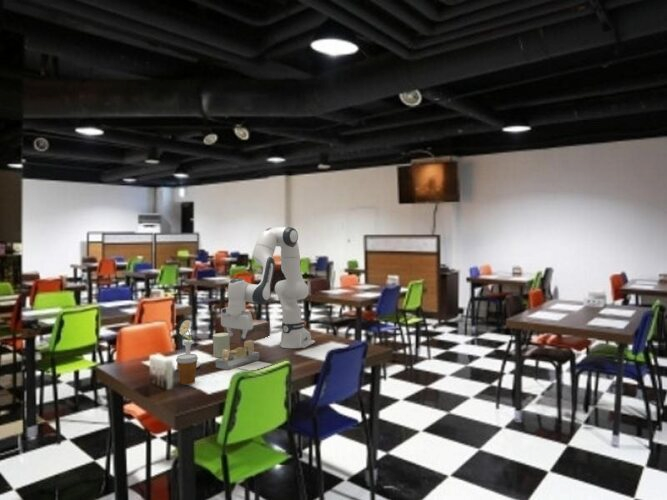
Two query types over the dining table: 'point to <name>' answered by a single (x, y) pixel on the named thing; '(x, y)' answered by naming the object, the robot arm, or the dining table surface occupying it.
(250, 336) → the tissue box cover
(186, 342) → the flower in vase
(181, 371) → the disposable coffee cup
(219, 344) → the can
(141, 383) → the dining table surface
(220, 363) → the hand plane
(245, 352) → the lever cap
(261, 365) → the mat
